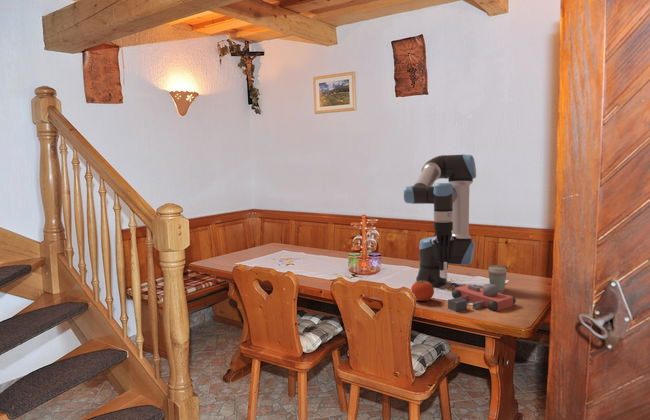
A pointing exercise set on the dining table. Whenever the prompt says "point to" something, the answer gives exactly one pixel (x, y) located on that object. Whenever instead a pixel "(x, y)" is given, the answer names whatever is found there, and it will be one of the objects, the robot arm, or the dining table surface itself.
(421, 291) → the tomato
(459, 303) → the grey cube
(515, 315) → the dining table surface
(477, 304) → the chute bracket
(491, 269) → the coffee cup
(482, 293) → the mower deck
